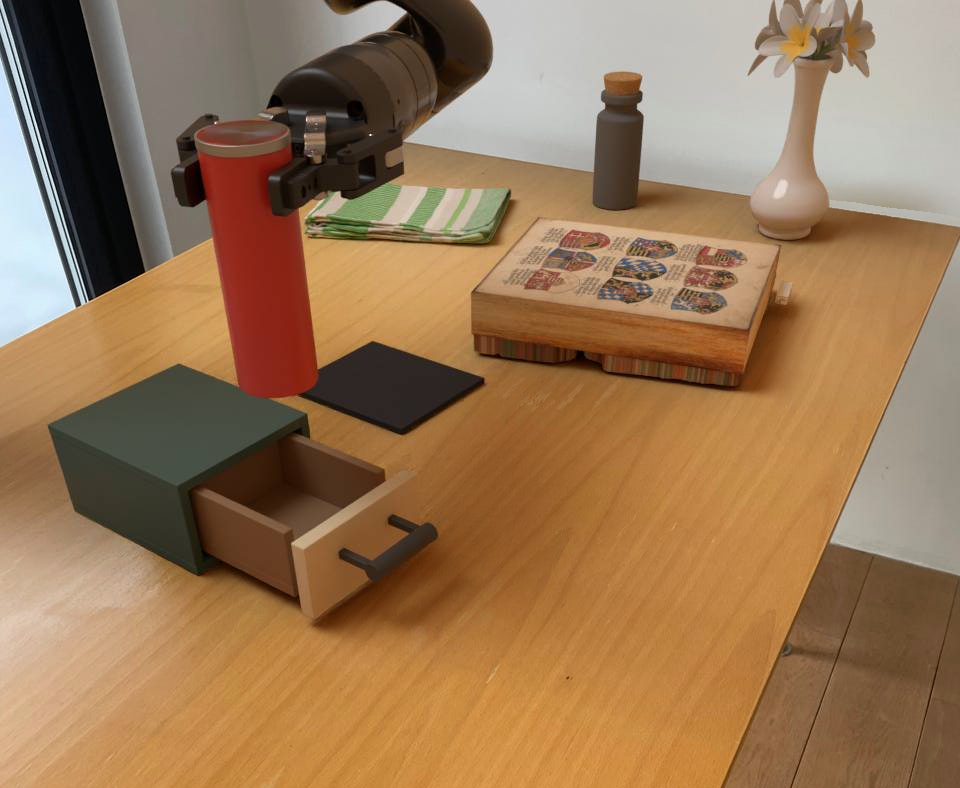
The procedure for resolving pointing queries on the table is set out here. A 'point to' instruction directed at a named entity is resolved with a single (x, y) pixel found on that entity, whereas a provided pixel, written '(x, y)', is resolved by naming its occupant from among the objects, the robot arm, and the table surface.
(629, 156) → the bottle
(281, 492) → the drawer
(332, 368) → the mat
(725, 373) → the wooden box
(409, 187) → the dish towel
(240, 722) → the table surface
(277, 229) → the tin
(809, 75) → the flower vase
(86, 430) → the cabinet
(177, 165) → the robot arm
